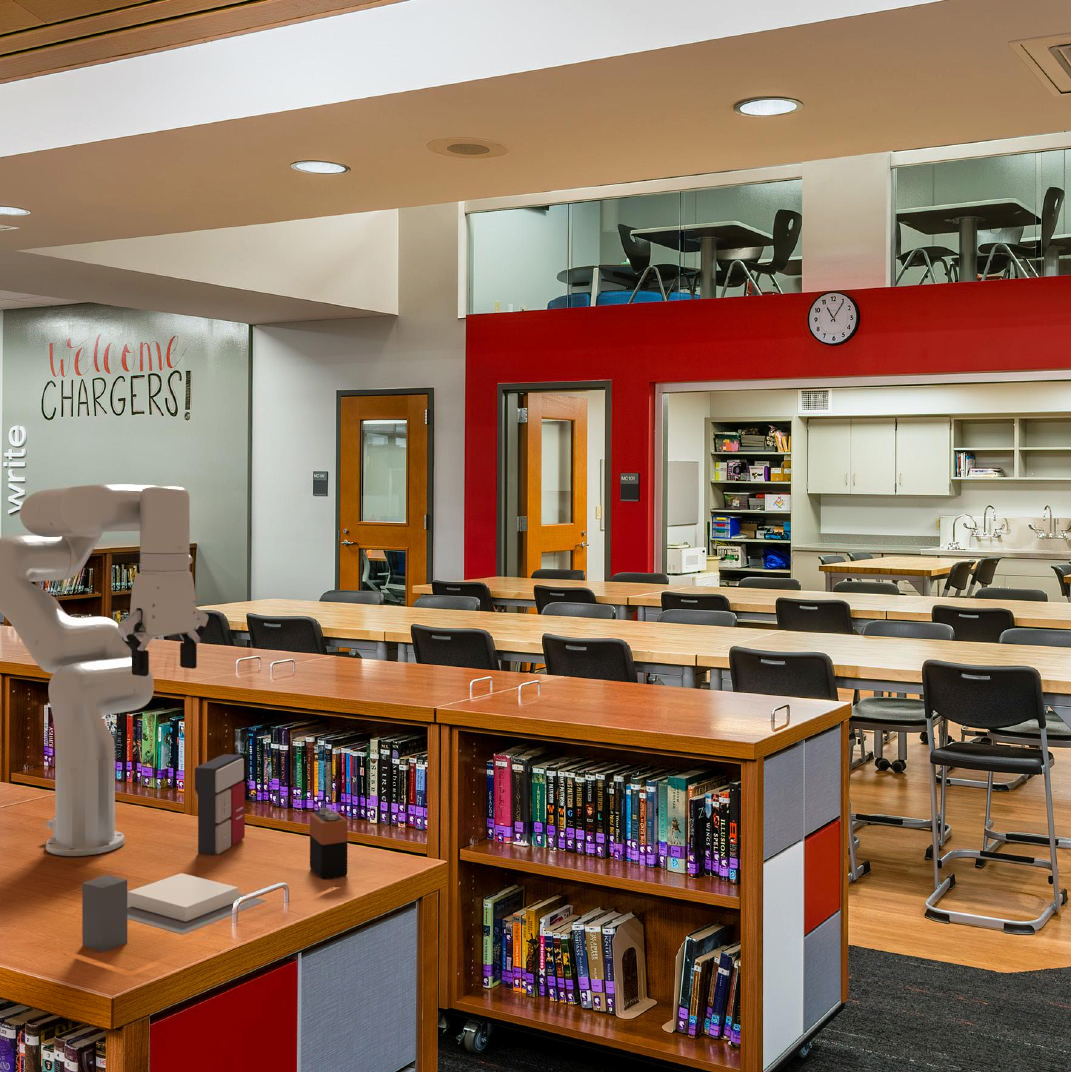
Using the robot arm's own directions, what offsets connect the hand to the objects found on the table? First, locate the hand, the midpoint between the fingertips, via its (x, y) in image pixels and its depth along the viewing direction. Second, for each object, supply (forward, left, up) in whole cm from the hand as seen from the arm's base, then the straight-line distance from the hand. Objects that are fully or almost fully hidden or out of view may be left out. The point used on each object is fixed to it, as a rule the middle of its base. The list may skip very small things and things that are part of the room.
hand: (164, 671), depth 188 cm
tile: (+9, -10, -31) cm, 33 cm away
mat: (+14, -10, -32) cm, 37 cm away
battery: (+22, +14, -32) cm, 42 cm away
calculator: (-2, +14, -32) cm, 35 cm away
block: (+18, -26, -32) cm, 45 cm away
